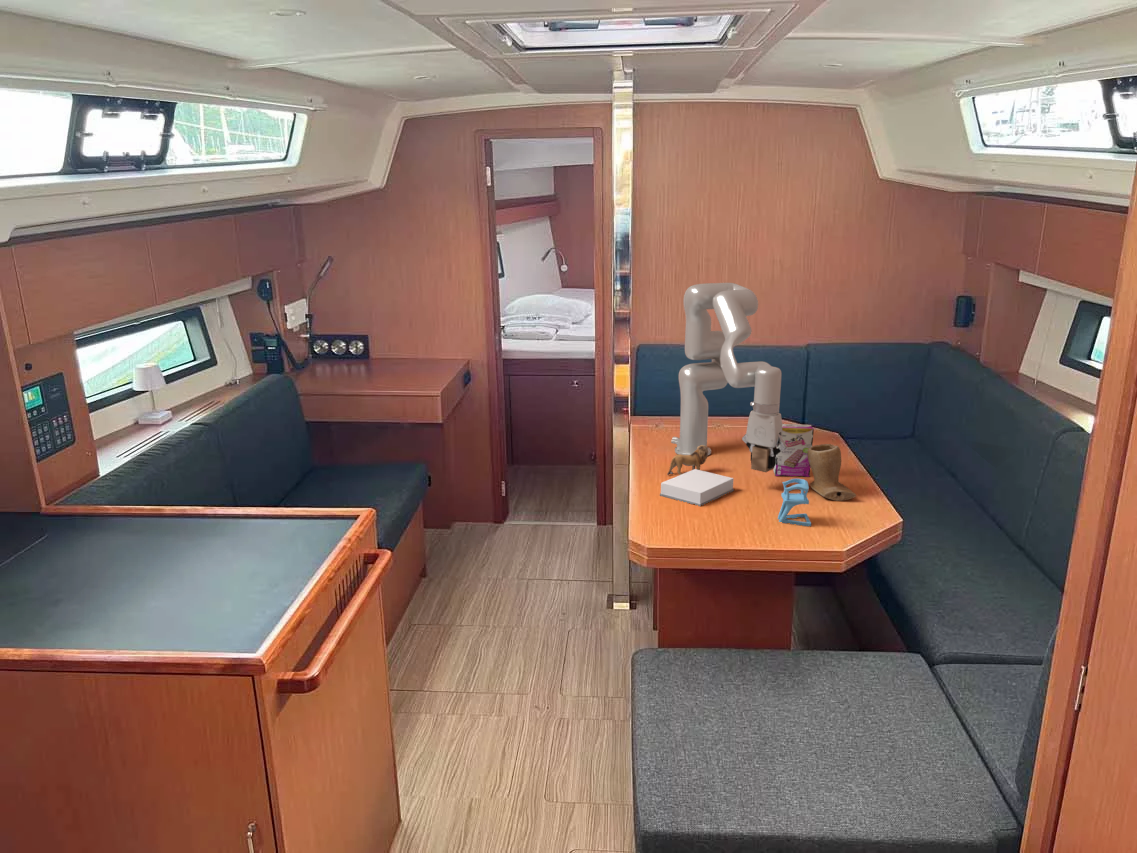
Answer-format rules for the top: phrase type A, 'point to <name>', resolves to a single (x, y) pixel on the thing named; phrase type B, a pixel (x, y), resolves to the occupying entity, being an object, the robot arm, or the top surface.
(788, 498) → the chair
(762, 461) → the walnut block
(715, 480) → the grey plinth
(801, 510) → the top surface
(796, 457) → the candy bar box
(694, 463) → the lion figurine
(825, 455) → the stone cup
